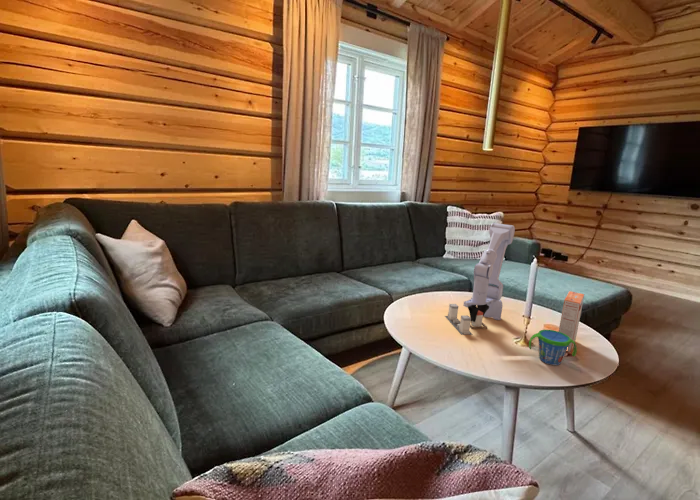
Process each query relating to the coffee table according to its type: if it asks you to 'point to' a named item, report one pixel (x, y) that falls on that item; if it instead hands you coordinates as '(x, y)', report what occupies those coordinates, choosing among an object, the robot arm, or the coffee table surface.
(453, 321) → the block
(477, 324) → the red cap fuse
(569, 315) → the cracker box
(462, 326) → the fuse slot
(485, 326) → the tray
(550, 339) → the snack cup
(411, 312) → the coffee table surface
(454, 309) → the block
